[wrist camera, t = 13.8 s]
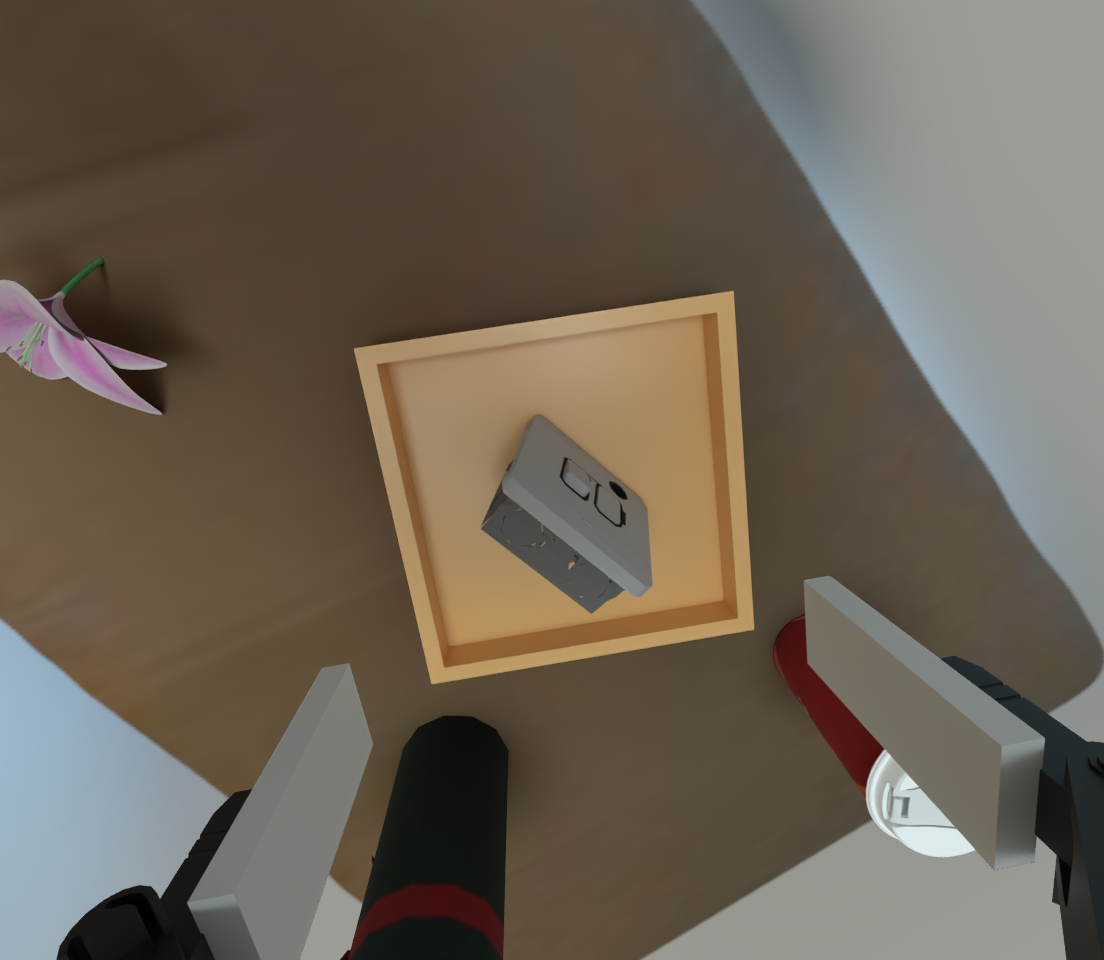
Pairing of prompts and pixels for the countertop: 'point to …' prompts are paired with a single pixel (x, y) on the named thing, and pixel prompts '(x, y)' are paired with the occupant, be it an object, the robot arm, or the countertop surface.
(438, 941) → the wine bottle
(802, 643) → the paper cup
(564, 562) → the electrical switch
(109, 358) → the lily
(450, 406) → the wooden tray
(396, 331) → the countertop surface
